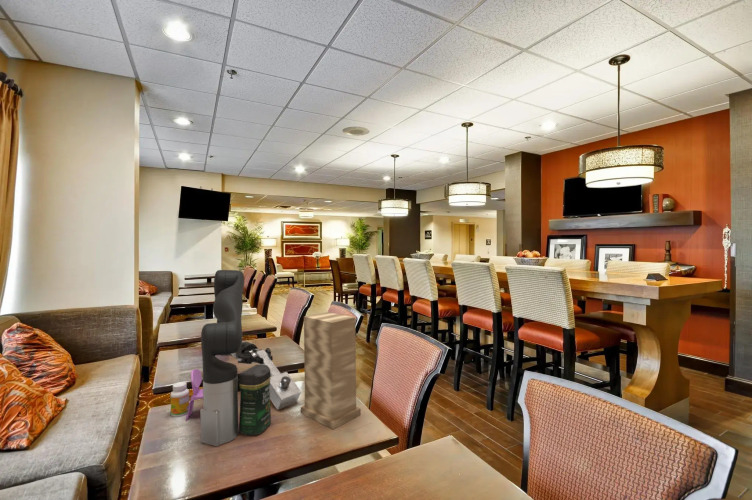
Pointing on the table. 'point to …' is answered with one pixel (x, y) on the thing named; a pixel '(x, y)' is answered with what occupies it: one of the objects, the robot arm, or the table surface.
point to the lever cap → (280, 384)
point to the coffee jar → (254, 400)
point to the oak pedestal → (330, 369)
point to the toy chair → (195, 389)
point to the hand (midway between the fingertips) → (267, 360)
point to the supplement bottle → (179, 399)
